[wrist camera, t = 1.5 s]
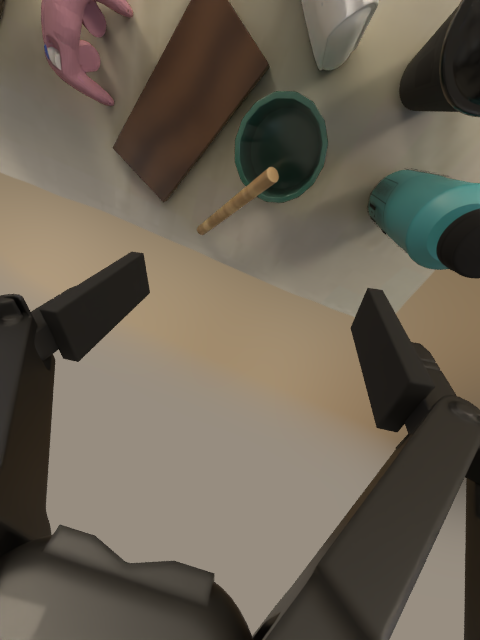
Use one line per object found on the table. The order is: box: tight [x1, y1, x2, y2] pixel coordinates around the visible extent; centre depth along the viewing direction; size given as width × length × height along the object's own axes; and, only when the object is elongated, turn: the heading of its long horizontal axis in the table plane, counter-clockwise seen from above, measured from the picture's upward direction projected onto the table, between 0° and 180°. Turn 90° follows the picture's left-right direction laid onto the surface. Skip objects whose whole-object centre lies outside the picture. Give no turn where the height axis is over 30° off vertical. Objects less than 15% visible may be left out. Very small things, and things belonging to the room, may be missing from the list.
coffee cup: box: [235, 91, 328, 203], centre depth 27 cm, size 9×9×8 cm
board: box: [113, 0, 270, 202], centre depth 30 cm, size 9×20×1 cm, turn 133°
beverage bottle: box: [367, 168, 480, 278], centre depth 23 cm, size 6×7×20 cm
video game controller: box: [41, 0, 133, 106], centre depth 26 cm, size 10×5×7 cm, turn 146°
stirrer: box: [197, 167, 279, 235], centre depth 30 cm, size 1×13×13 cm
